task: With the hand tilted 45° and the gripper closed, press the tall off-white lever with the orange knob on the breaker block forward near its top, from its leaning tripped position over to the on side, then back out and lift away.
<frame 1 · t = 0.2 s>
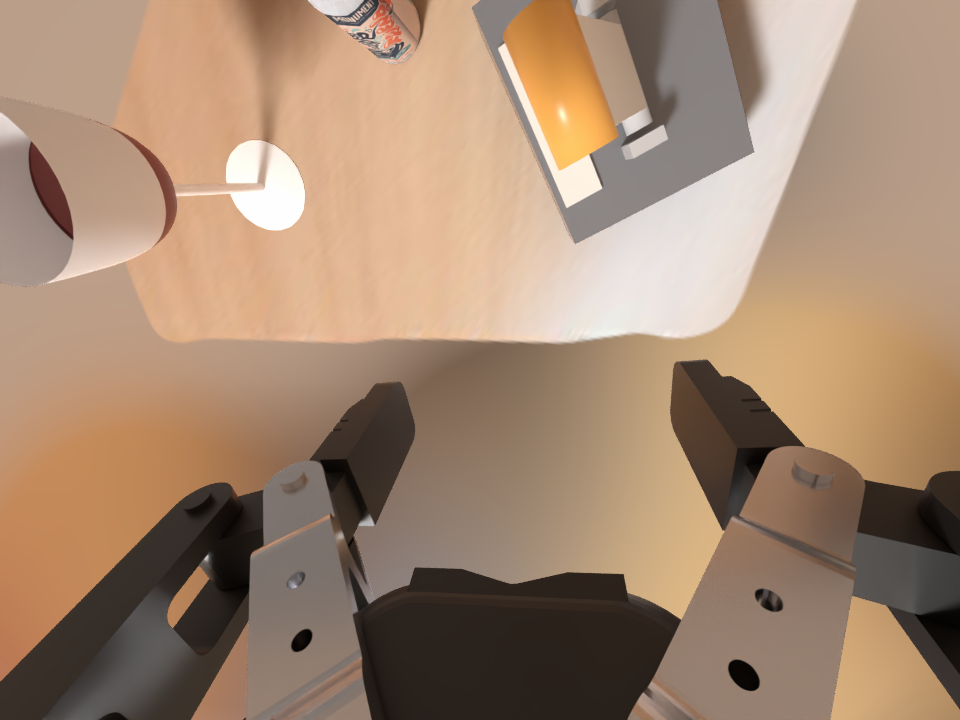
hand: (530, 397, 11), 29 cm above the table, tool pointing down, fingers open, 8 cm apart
beer can: (394, 31, 31), on the table
wineglass: (266, 187, 38), on the table
breaker block: (604, 95, 31), on the table
breaker lever: (596, 81, 21), point 12 cm above the table, hinge at -25.0°
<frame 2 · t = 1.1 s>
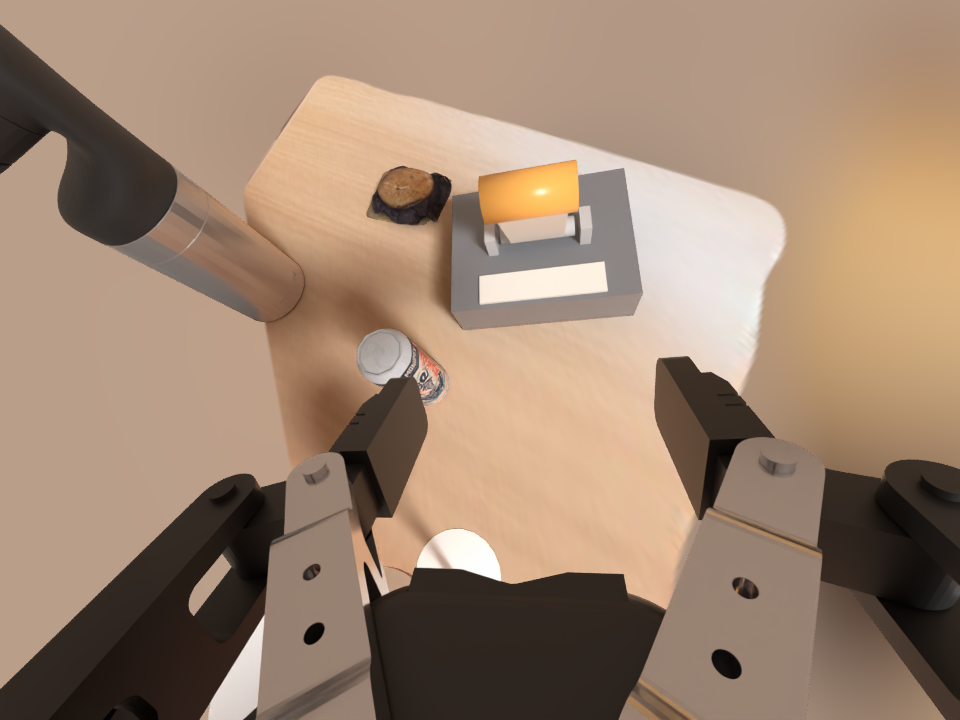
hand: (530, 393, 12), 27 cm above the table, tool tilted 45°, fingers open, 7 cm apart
beer can: (430, 385, 41), on the table
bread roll: (411, 201, 50), on the table
wineglass: (457, 576, 35), on the table
breaker block: (541, 265, 43), on the table
breaker lever: (533, 215, 30), point 12 cm above the table, hinge at -25.0°
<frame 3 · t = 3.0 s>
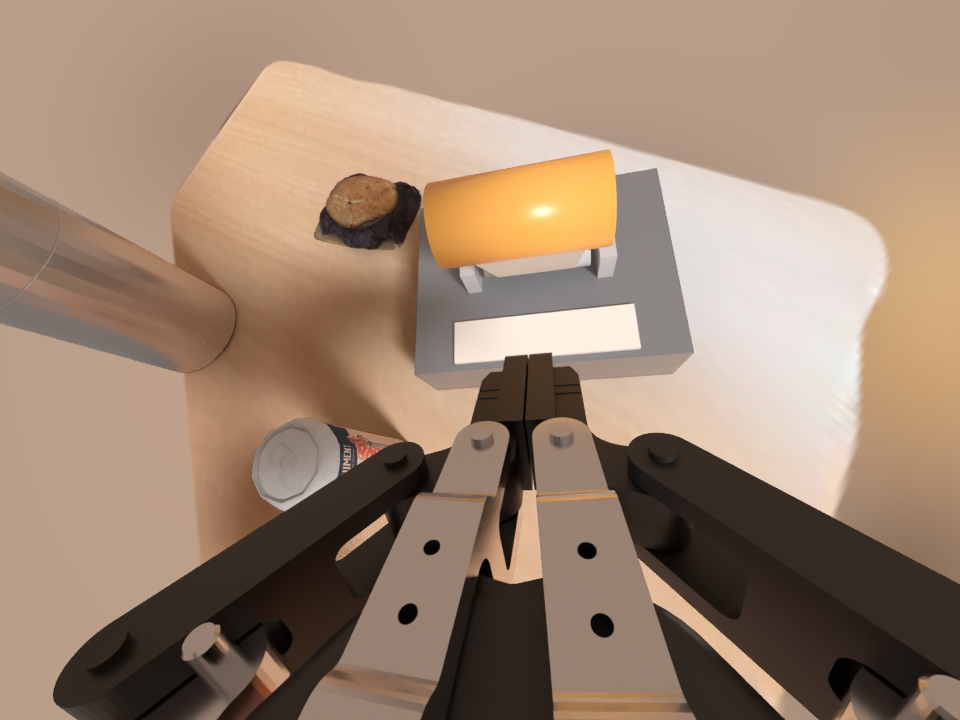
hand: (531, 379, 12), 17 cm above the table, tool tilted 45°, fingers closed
beer can: (391, 468, 30), on the table
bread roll: (371, 218, 39), on the table
breaker block: (541, 301, 31), on the table
breaker lever: (529, 242, 19), point 12 cm above the table, hinge at -25.0°
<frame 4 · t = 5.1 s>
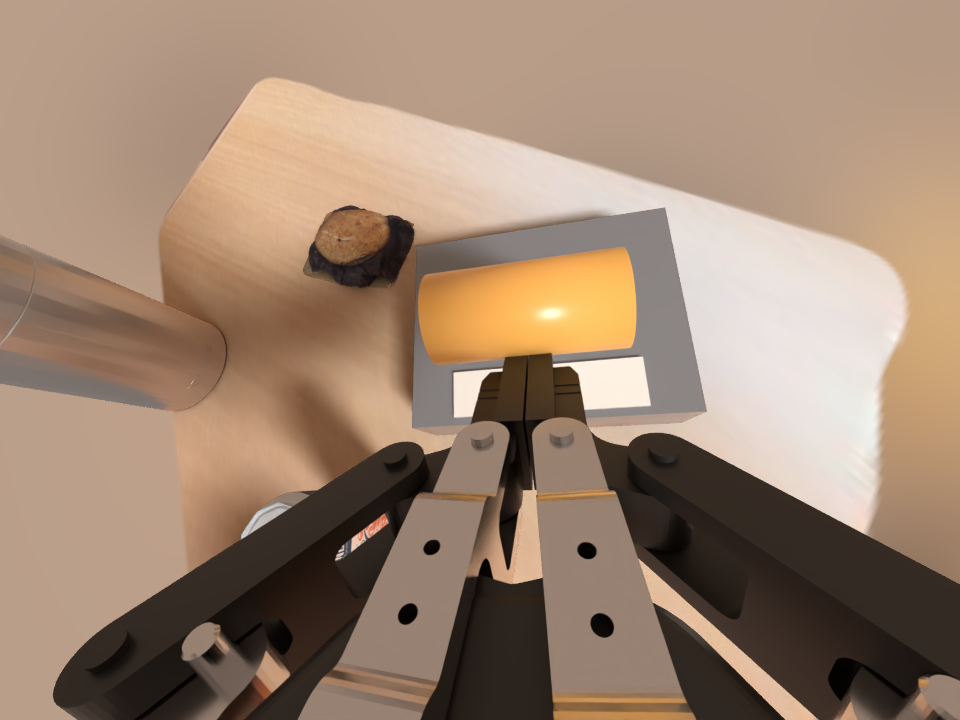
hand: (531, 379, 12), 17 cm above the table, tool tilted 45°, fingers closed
beer can: (389, 518, 29), on the table
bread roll: (362, 252, 38), on the table
breaker block: (544, 340, 30), on the table
breaker lever: (533, 308, 18), point 12 cm above the table, hinge at -24.7°, touching gripper
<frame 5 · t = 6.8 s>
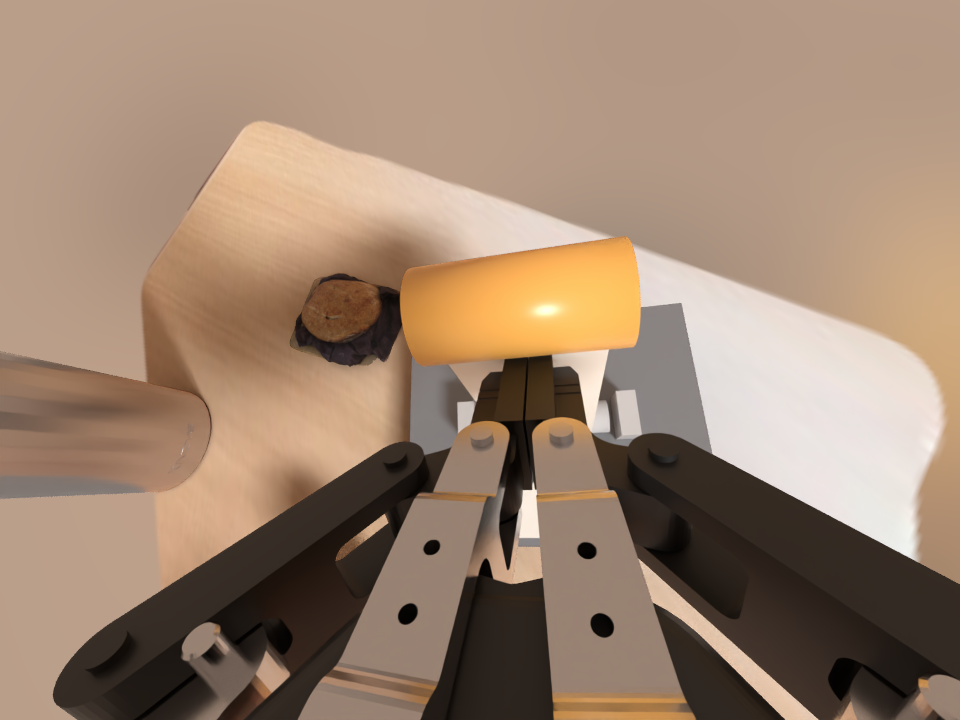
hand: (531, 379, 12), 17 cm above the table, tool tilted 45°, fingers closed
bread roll: (353, 323, 35), on the table
breaker block: (549, 431, 28), on the table
breaker lever: (535, 379, 16), point 13 cm above the table, hinge at 7.6°, touching gripper
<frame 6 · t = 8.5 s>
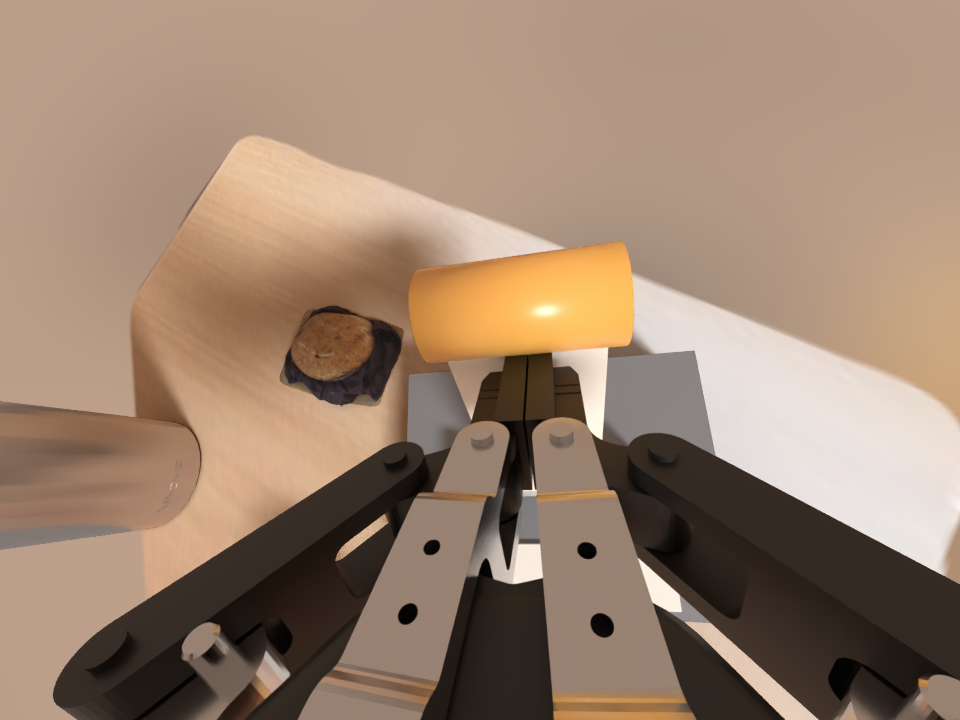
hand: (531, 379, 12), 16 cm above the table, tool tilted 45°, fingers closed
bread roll: (345, 357, 34), on the table
breaker block: (552, 476, 27), on the table
breaker lever: (537, 413, 16), point 12 cm above the table, hinge at 25.0°, touching gripper
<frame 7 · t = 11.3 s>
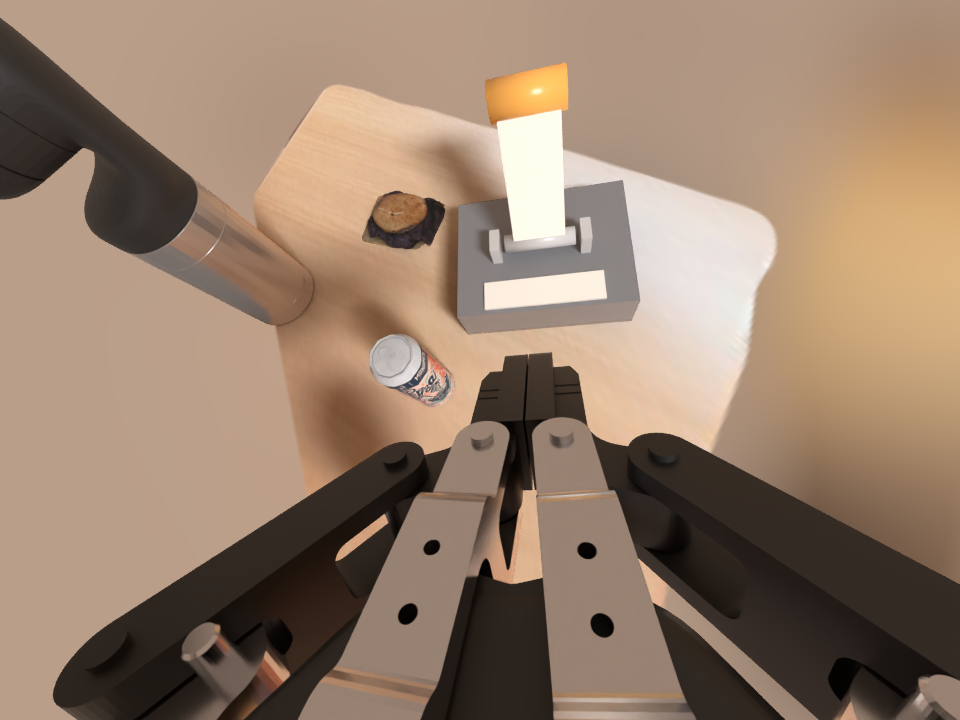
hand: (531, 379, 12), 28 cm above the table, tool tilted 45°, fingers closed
beer can: (436, 387, 43), on the table
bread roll: (405, 225, 51), on the table
breaker block: (543, 272, 44), on the table
breaker lever: (533, 173, 33), point 12 cm above the table, hinge at 25.2°
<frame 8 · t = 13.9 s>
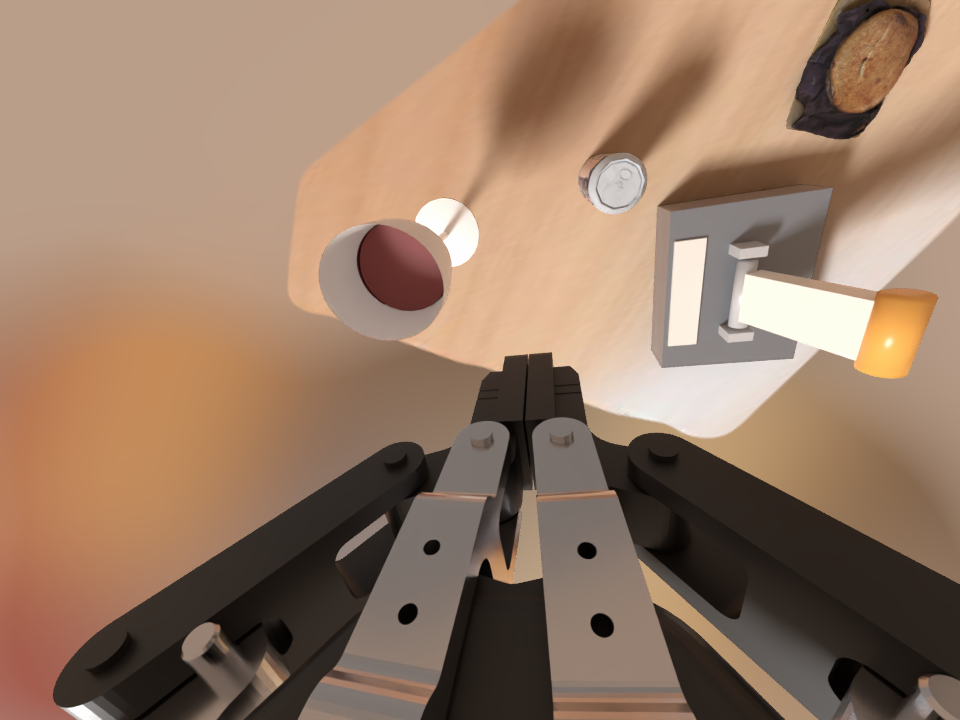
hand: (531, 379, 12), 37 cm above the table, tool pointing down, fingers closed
beer can: (599, 178, 42), on the table
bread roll: (846, 70, 35), on the table
wineglass: (446, 233, 47), on the table
breaker block: (716, 277, 45), on the table
breaker lever: (808, 311, 33), point 12 cm above the table, hinge at 25.2°
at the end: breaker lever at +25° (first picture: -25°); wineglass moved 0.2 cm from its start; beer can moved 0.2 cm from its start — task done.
